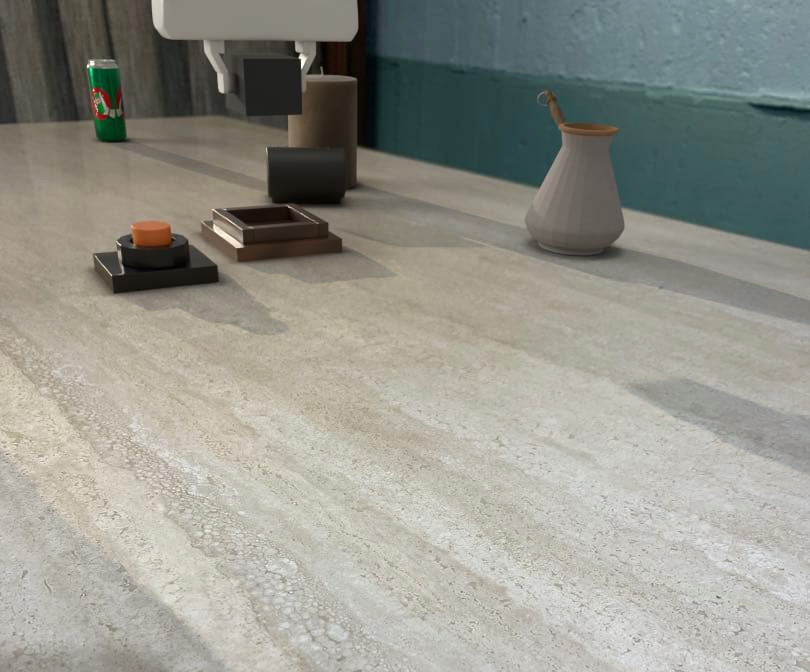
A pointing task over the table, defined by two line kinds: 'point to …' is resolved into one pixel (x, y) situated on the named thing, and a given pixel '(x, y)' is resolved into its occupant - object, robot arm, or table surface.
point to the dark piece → (154, 265)
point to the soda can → (106, 100)
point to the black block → (265, 84)
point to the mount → (269, 232)
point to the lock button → (151, 233)
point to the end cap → (306, 174)
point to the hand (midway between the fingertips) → (262, 92)
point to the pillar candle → (328, 118)
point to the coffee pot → (577, 191)
